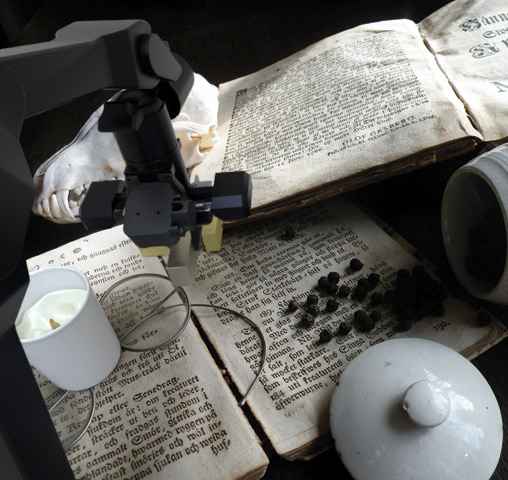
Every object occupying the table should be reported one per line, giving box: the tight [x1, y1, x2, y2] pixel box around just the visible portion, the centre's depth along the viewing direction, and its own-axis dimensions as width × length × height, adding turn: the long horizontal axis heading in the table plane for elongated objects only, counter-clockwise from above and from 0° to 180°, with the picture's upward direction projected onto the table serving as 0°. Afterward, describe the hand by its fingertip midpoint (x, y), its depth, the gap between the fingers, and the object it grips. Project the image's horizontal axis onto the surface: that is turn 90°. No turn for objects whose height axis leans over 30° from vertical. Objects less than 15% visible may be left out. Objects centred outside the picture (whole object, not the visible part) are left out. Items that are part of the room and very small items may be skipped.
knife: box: [165, 174, 201, 288], centre depth 62 cm, size 18×2×4 cm, turn 3°
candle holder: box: [15, 265, 122, 392], centre depth 53 cm, size 10×10×12 cm
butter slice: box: [201, 215, 224, 252], centre depth 71 cm, size 2×9×4 cm, turn 3°
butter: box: [137, 246, 170, 258], centre depth 71 cm, size 4×9×4 cm, turn 3°
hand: (187, 249), depth 60 cm, fingers closed on knife, 2 cm apart
